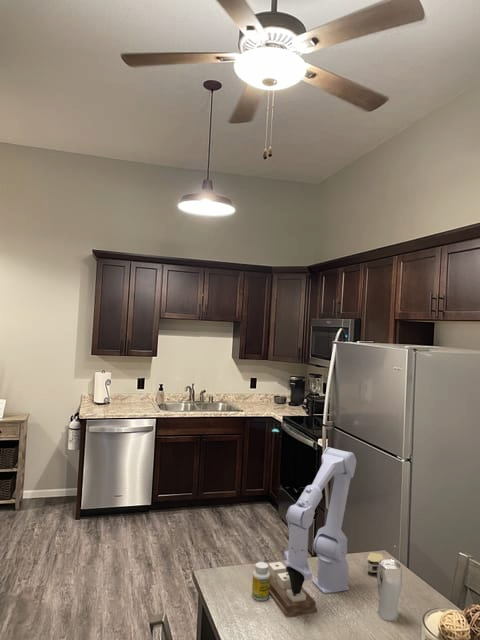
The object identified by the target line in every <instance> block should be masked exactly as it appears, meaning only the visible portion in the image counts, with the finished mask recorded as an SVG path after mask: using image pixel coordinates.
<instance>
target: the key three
mask: <svg viewBox="0 0 480 640" xmlns="http://www.w3.org/2000/svg"><path fill="white" fill-rule="evenodd" d="M286 595H287V597H288V598H289V599H290V600H291V602H299V601H305V600H306V595H305V594H304V593H303V591H302V590H301V592H300V593H299V594H294V593H293V592H292V589H289V590H286Z"/></svg>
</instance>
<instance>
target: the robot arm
mask: <svg viewBox="0 0 480 640" xmlns="http://www.w3.org/2000/svg"><path fill="white" fill-rule="evenodd" d="M356 466H357V458H356V456H355V453H354V452H352V451H345V450H341V449H337V448H332V446H331V447H330V446H328V447H326V448H325V449H324V451H323V453H322V455H321V465H320V467H319V470H318V471H317V473H316V476H315V478H314V479H313V481H312V483H311V484H308V485H306V486H305V487H304V489H303V491H302V492H301V495H300V496H299V498H298V500H297V501H296V503H294V504H292V505H290V506H289V507H288V509H287V512H286V515H285V519H286V522H287V528H288V529H289V532H288V534H289V535H288V550H285V551H284V553H283V557H284V559H285V561H284V566H285V567H286V569H287V572H288V574H289V578H290V582H291V588H292V592H293V593H294V594H299V593H300V592H301V589H302V587H303V586H304V582H305V581H312V583H313V584H314V585H315V586H316V587H317V588H318V589H319V591H321V592H322V593H323V594H330V593H337V592H342V591H343V592H344V591H350V587H349V571H350V570H349V564H348V561H347V559H346V557H347V555H348V538H347V536H346V535H345V533H344V532H343V530H342V527H343V521H344V514H345V511H346V505H347V499H348V494H349V488H350V483H351V479H352V478H354V475H355V471H356ZM332 477H333V478H334V479H333V485H332V490H331V495H330V501H329V506H328V510H327V516H326V521H325V524H324V526H322V527H320V528H319V529H318V530H317V532H316V535H315V538H314V540H313V544H312V545H313V551H314V552H315V553H316V557H318V561H317V562H318V563H317V564H318V565H317V578H316V579H313V572H312V571H311V568H310V565H309V562H308V555H309V554H308V552H309V551H308V550H309V530H310V529H309V528H310V527H311V525H312V524H313V523H314V522H313V521H314V517H315V514H316V512H315V510H316V508H317V506H318V505H319V503H320V502H321V500H322V499H323V492H322V491H323V490H324V488H325V487H326V486H327V485H328V482H330V480H331V479H332Z"/></svg>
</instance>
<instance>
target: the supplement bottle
mask: <svg viewBox="0 0 480 640" xmlns="http://www.w3.org/2000/svg"><path fill="white" fill-rule="evenodd" d="M254 567H255V568H254V571H253V573H252V589H251V591H252V592H251V595H252V598H253V599H254V600H256V601H267V600H268V598H269V597H270V595H269V588H270V573H269V571H268V563H266V562H263V561H258V562H256V563H255V565H254Z"/></svg>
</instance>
